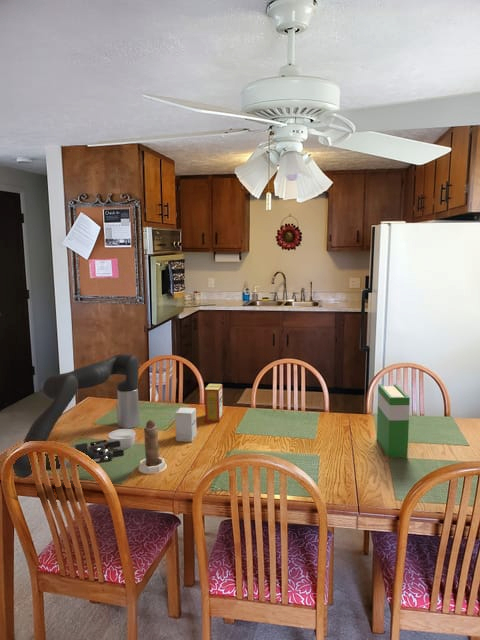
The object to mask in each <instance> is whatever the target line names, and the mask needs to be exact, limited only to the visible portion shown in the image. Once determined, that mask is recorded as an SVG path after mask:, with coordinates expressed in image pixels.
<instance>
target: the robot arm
mask: <svg viewBox="0 0 480 640" xmlns="http://www.w3.org/2000/svg"><path fill="white" fill-rule="evenodd" d="M139 366H140V363H139V359H138V357H137V356H136V355H133V354H124V353H123V354H121V353H120V354H116V355H114V356H112V357H109V358H108V359H106V360H102V361H98V362H97V361H96V362H94V363H90V364H87V365H85V366H83V367H80V368H76V369H74V370H72V371H69V372H64V373H59V374H51V375H50V376H48V377H47V379H45V381H44V383H43V386H42V390H43V393H44V394H45V396H46V397H48V398H50V399H53V401H52V402H51V403H50V405H49V406H48V407H47V408H46V409H45V410H44V411H43V412H42V413H41V414H39V416H38V417H37V418H36V419H35V420H34V421H33V423H32V424H31V426H30V428H29V430H28V432H27V434H26V436H25V438H24V441H23V444H24V443H25V442H29V441H46V442H47V441H48V439H49V437H50V435H51V433H52V431H53V430H54V426H56V423H57V422H58V420H59V419H60V418H61V416H62V415H63V413H64V412H65V411H66V409H67V408H68V405H70V403H71V401H72V400H73V399H74V397H75V395H76V394H77V392H78V390H81V389H83V390H84V389H89V388H92V387H97V386H99V385H102V384H104V383H106V382H107V381H108V379H109V378H110V377H111V376H113V375H123V376H125V379H124V380H121V381H119V382H118V383H117V385H116V391H117V405H116V416H117V417H116V419H117V426H119V427H120V428H121V429H132V428H136V427H138V426H139V425H140V407H139V406H140V404H139V389H138V387H139V386H138V385H139V380H140V379H139V378H140V377H139V369H140V367H139ZM69 446H71V447H73V448H75V449H77V450H79V451H81V452H83V453H85V454H86V455H88V456H89V457H90V458H91V459H93V462H94V461H95V462H96V463H97V464H102V463H110V462H112V461H113V459H115V458H120V457H123V456H124V455H125V452H124V449H123V450H116V449H115V450H109V449H113V448H116V447H120V441H113V442H110V441H107V439H103V440H96V441H92V442H90V443H89V444H88V442H84V443H78V444H71V445H69ZM36 455H37V454H36ZM45 456H46V470H45V471H52V470H51V467H50V462H49V458H48V454H46V453H45ZM55 457H56V459H55V461H56V470H60V464H59V460H58V456H55ZM38 462H39V460H38ZM65 463H66V468H65V469H72V468H71V467H70V463H69V460H68V459H65ZM78 467H80V466H79V465H77V468H78ZM13 469H14V472H13V474H14V475H15V476H16V477H17V478H19V479H26V478H28V477H30V476H32V474H33V473H32V470H31V465H30V461H29V457H28V454H25V455H23V456H21V457H19V458H18V459H17V460H16V461H15V463H14V464H13V468H12V470H13Z"/></svg>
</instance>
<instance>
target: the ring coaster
mask: <svg viewBox="0 0 480 640" xmlns="http://www.w3.org/2000/svg"><path fill="white" fill-rule="evenodd" d="M167 467H168V465H167V463H166V462H165V458H164V457H160V456H159V465H157V466H150V467H149V466H146V457H145V458H143V459H141V460H140V461H139V466H138V471H139V472H140V473H142V474H149V475H150V474H151V475H153V474H158V473H161V472H163V471H165V470H166V469H167Z"/></svg>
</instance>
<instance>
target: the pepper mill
mask: <svg viewBox="0 0 480 640" xmlns="http://www.w3.org/2000/svg"><path fill="white" fill-rule="evenodd" d="M143 431H144V453H145V458H146V466H149V467H150V466H157V465H159V457H160V456H159V455H160V454H159V435H158V434H159V433H158V427H157V425H156V423H155V421H154V420H151V419H149V420H148V421H146V423H145V426H144V430H143Z"/></svg>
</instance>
